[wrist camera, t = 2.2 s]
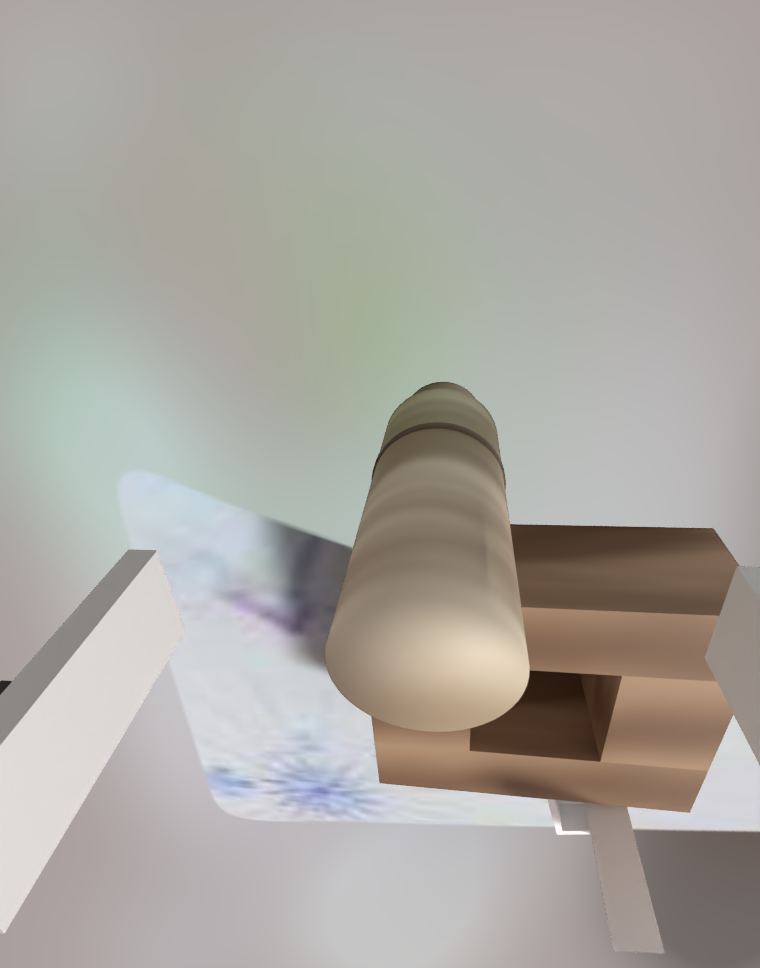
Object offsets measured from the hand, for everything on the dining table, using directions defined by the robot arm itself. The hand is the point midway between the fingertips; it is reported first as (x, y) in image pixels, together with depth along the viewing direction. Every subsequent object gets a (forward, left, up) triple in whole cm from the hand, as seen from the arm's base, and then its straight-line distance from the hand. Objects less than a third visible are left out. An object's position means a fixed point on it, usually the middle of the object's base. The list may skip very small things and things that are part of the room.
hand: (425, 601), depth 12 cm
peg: (0, 0, -10) cm, 10 cm away
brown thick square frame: (+11, +4, -10) cm, 15 cm away
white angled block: (+20, +8, -10) cm, 24 cm away
